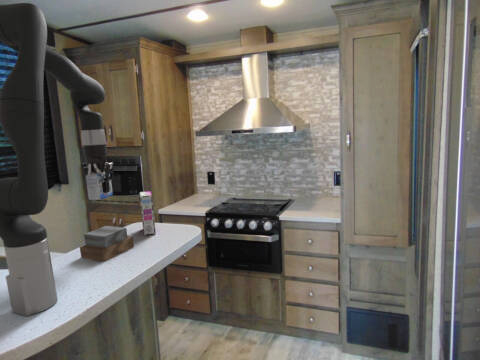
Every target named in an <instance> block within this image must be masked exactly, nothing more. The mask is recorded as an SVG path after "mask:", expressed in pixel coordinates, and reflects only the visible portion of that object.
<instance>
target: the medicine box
mask: <svg viewBox="0 0 480 360" xmlns="http://www.w3.org/2000/svg"><path fill="white" fill-rule="evenodd" d="M103 173H104V172H103ZM109 176H110V174H109ZM104 178H105V176H104ZM85 182H86V189H87V196H88V200H90V201H101V200H103V199H106V198H109V197H111V196H113V194H114V193H113V185H112V180H110V181H109V187H110V191H109V192H108V193H103V188H102V183H103V182H102V180H101V176H100V175H99V174H98V173H94V174H90V175H88V174H87V175H86V180H85Z"/></svg>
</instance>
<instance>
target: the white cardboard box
mask: <svg viewBox="0 0 480 360" xmlns="http://www.w3.org/2000/svg"><path fill="white" fill-rule="evenodd" d="M153 201H154V200H153V195H152V191H150V190H149V191H140V192H139V202H140V203H139V204H140V212H141V221H142V230H143V236H144V237H145V236H151V235H152V236H153V235H156V225H155V223H156V222H155V213H154V204H153V203H154V202H153Z"/></svg>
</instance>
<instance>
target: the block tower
mask: <svg viewBox="0 0 480 360" xmlns="http://www.w3.org/2000/svg"><path fill="white" fill-rule="evenodd" d="M83 236H84V243H85V244H83V245H81V246H79V251H80V258H82V259H87V260H93V261H97V262H106V261H108V260H110V259H113V258H114V257H117V256H119V255H121V254H123V253H124V252H126V251H129V250H131V249H134V247H135V245H134V237H133V236H128V229H127V227H122V226H114V225H113V226H112V225H104V226H102V227H100V228H97V229H94V230H91V231H89V232H86V233H83Z"/></svg>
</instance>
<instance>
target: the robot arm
mask: <svg viewBox="0 0 480 360" xmlns="http://www.w3.org/2000/svg"><path fill="white" fill-rule="evenodd" d="M47 40H48V26H47V21H46V18H45V15H44V14H43V12H42V9H40V8H39V6H37V5H36V4H34V3H31V2H20V3H18V2H17V3H9V4H0V42H2V43H3V44H4V45H6V46H7V47H8V48H11V49H12V50H13V51H15V52H17V53H18V54H17V59H16V61H15V63H14V66H13V67H12V69H11V71H10V72H9V74H8V76H7V77H6V78H5V80H4V83H3V84H2V86H1V89H0V126H1V128H2V131H3V132H4V134H5V136H6V137H7V139H8V141H9V142H10V144H11V146H12V148H13V149H14V152H15V155H16V159H17V176H14V177H12V176H11V177H3V178H0V239H1V240H2V242H3V243H2V244H3V247H4V254H5V258H6V263H7V264H6V265H7V269H8V274H7V275H6V276H5V280H6V288H7V291H8V298H9V301H10V307H11V313H15V314H18V315H21V316H24V317H29V316H31V315H33V314H37V313H41V312H43V311H46V310H47V309H51V307H53V306H54V305H56V303H57V302H58V295H57V294H58V293H57V292H58V291H57V290H56V289H57V288H56V283H55V277H54V270H53V264H52V258H51V257H52V256H51V252H50V245H49V240H48V239H49V238H48V233H47V229H46V227H45V225H42V224H40V223H38V222H36V221H35V220H33V219H32V218H31V217H30V216H34V215H38V214H41V213H42V212H43V211H44V210H45V208H46V206H47V204H48V200H49V185H48V175H47V167H46V160H45V159H46V158H45V156H46V155H45V139H44V137H45V136H44V133H45V131H44V130H45V129H44V128H45V127H44V126H45V125H44V124H45V104H44V103H45V102H44V101H45V100H44V75H45V71H46V73H48V74H49V75H50V76H51V77H52V78H54V79H55V80H56V81H57V82H58V83H59V84H60V85H62V86H63V87H64V88H65V89H67V90H68V91H70V98H71V101H72V103H73V106H74V108H75V111H76V113H77V115H78V118H79V124H80V129H81V133H80V134H81V146H82V152H83V158H84V159H86V162H83V163H80V168H81V171H82V174H83V178H84V180H85V181H86V175H90V174H94V173H98V174H99V175H100V176H101V180H102V182H103V183H102V188H103V193H108V192H109V191H110V187H109V181H110V180H111V181H112V180H114V177H115V176H114V173H115V171H114V170H115V168H114V167H115V164H114V162H108V160H107V157H108V146H107V139H106V135H105V130H104V121H103V116H102V114H101V112H99V111H92V110H91V109H90V108H89V106H91V105H92V106H93V105H100V104H102V103H103V102H105V99H106V91H105V89H104V87H103V85H101V84H100V82H98V81H97V80H96V79H94V78H92V77H91V76H89V75H87V74H86V73H83V71H81V70H80V68H79V67H77V65H76V64H75V63H73V61H72V60H70V59H69V58H68V57H66V56H64V55H63V54H61V53H59V52H57V51H55V50H53V49H51V48H50V47H48V46H47V42H48V41H47ZM103 172H104V173H103ZM109 174H110V176H109ZM104 176H105V178H104Z"/></svg>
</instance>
